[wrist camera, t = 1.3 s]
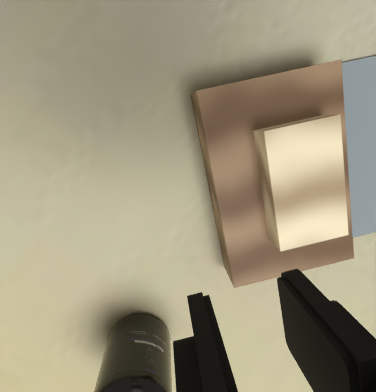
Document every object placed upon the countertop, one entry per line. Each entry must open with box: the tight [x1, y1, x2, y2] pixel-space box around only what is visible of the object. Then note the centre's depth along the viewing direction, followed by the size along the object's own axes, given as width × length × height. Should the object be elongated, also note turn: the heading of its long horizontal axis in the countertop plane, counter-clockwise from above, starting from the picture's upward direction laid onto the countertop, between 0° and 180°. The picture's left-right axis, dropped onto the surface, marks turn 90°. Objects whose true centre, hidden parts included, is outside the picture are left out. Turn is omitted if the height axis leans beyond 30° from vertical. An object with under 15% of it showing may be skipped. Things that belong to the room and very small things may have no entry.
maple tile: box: [253, 114, 349, 252], centre depth 24 cm, size 10×6×2 cm, turn 12°
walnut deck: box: [191, 60, 354, 288], centre depth 27 cm, size 18×12×4 cm, turn 12°
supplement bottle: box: [94, 314, 172, 392], centre depth 26 cm, size 7×7×12 cm
